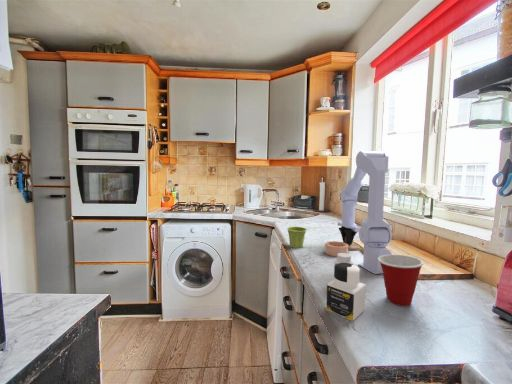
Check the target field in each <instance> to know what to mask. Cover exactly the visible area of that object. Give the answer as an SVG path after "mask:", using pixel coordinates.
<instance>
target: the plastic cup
mask: <svg viewBox="0 0 512 384" xmlns="http://www.w3.org/2000/svg"><path fill="white" fill-rule="evenodd" d="M378 261H379V262H380V264H381V267H382V270H383V273H382V276H383V283H384V288H385V294H386V298H387V300H388V302H390V303H391V304H393V305H397V306H401V307H408V306H410V305H411V304H412V302H413V297H414V294H415V293H416V292H415V291H416V287H417V282H418V278H419V275H420V272H421V268H422V266H423V265H424V261H423V260H422V259H420V258H418V257H414V256H410V255H404V254H392V255H383V256H380V257H378Z"/></svg>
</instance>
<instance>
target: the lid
mask: <svg viewBox="0 0 512 384" xmlns="http://www.w3.org/2000/svg"><path fill="white" fill-rule="evenodd" d="M345 243H346V244H347V239H346V236H345ZM360 247H361V246H360V245H359V244H357V243H354V242H352V244H351V245H348V250H349V251H348V252H356V251H355V250H358V251H360V250H359V249H360Z"/></svg>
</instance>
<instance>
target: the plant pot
mask: <svg viewBox="0 0 512 384" xmlns="http://www.w3.org/2000/svg"><path fill="white" fill-rule="evenodd" d="M286 230H287V233H288V241H289V247H291V248H294V249H297V248H298V249H301V248H303V247H304V240H305V235H306V232H307V228H305V227H302V226H288V227H287V228H286Z"/></svg>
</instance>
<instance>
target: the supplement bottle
mask: <svg viewBox="0 0 512 384" xmlns="http://www.w3.org/2000/svg"><path fill="white" fill-rule="evenodd" d="M338 263H350V264H353V265H354V262H353V261H352V255H351V254H350V253H348V254H347V253H338V254H337V257H336V259H334V266H335V265H336V264H338ZM334 266H333V267H334Z"/></svg>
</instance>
